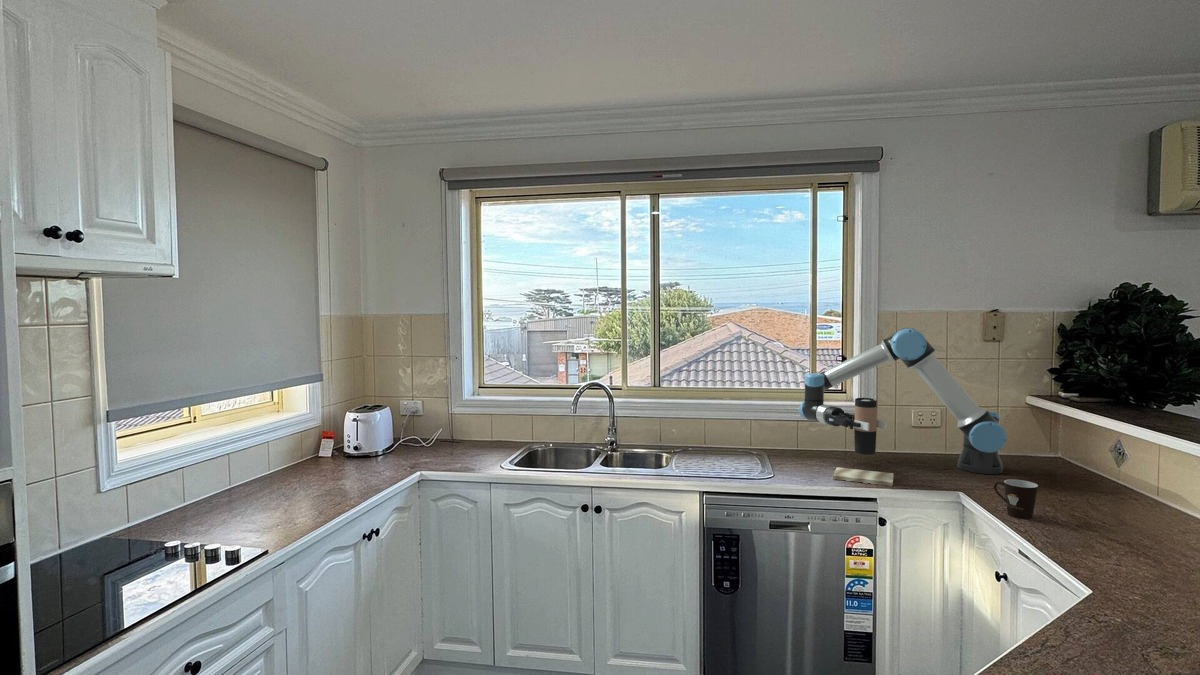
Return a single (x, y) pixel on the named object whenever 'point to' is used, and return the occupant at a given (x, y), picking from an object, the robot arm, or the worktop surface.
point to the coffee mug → (1019, 498)
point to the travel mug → (868, 414)
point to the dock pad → (864, 476)
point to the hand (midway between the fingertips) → (877, 426)
